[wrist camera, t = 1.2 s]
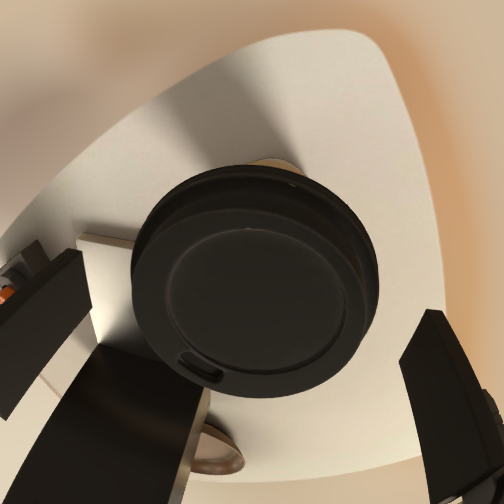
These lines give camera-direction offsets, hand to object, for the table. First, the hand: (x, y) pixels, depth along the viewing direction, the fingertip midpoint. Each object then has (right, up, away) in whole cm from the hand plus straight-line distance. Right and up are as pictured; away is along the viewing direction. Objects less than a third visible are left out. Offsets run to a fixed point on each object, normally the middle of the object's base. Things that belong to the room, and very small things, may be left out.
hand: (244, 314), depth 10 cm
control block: (-27, -1, +21) cm, 34 cm away
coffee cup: (+2, +7, +12) cm, 14 cm away
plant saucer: (-11, -28, +32) cm, 44 cm away
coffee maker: (-11, -7, +21) cm, 24 cm away
